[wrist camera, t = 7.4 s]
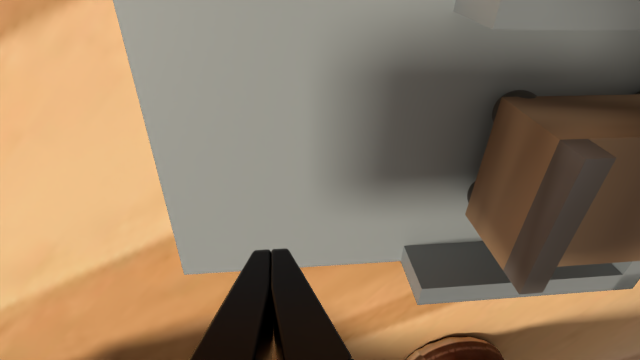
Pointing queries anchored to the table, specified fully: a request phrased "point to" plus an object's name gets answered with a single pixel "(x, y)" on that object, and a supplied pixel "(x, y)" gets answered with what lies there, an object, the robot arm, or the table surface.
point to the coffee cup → (457, 350)
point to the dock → (358, 125)
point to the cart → (559, 184)
